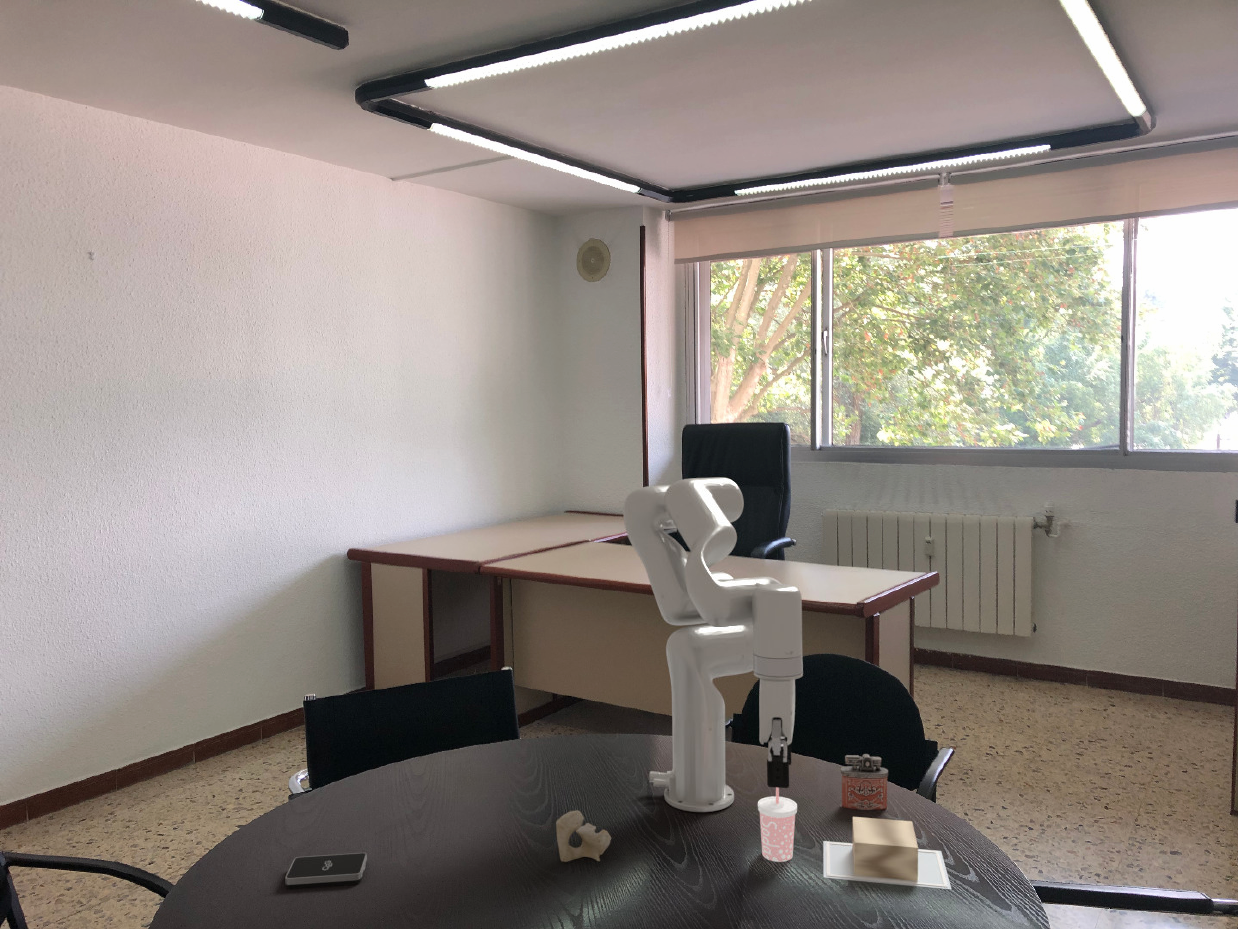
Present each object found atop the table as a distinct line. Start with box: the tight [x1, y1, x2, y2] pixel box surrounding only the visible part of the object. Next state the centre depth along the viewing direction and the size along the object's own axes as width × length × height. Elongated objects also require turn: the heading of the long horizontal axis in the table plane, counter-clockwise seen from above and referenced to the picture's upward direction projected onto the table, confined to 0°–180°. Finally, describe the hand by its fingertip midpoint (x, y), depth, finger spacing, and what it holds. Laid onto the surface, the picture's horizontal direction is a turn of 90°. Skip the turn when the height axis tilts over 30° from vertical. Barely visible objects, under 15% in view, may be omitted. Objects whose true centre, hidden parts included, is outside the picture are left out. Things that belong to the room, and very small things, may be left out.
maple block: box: [852, 816, 919, 881], centre depth 142 cm, size 9×9×5 cm
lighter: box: [840, 753, 889, 811], centre depth 162 cm, size 8×3×10 cm, turn 84°
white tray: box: [822, 840, 952, 891], centre depth 142 cm, size 18×12×1 cm, turn 78°
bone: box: [555, 809, 612, 863], centre depth 147 cm, size 9×6×10 cm
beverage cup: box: [757, 787, 798, 863], centre depth 145 cm, size 6×6×14 cm
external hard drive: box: [285, 852, 368, 890], centre depth 142 cm, size 7×11×2 cm, turn 97°
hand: (779, 775), depth 144 cm, fingers open, 9 cm apart
